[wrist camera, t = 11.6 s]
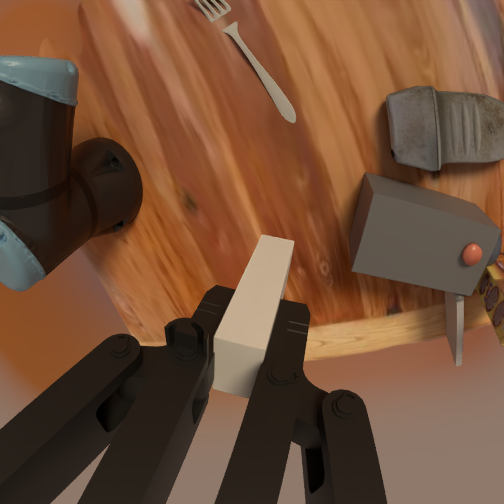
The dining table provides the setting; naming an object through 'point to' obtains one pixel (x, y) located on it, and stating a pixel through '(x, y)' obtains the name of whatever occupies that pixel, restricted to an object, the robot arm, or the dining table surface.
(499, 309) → the candy box
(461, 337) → the side door
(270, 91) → the fork
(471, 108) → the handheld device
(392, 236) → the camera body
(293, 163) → the dining table surface
